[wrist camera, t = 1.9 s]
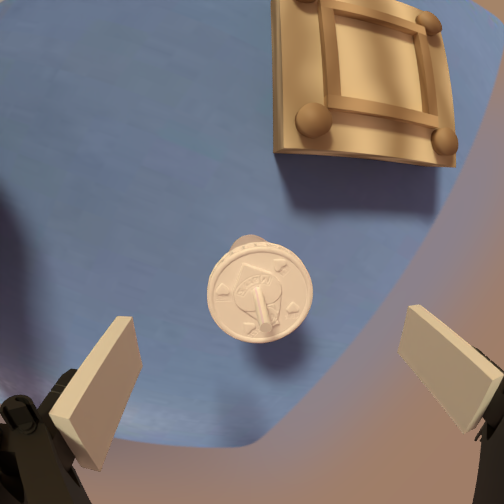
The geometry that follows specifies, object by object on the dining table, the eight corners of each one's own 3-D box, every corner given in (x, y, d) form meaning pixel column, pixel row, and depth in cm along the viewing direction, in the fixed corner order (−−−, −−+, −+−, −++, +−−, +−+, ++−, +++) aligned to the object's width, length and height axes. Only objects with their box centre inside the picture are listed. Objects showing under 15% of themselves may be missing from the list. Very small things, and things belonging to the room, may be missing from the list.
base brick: (273, 153, 24) (286, 146, 18) (270, 2, 20) (280, -33, 14) (425, 166, 25) (464, 167, 19) (412, 32, 21) (443, 13, 15)
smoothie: (268, 207, 25) (311, 244, 12) (296, 270, 27) (352, 356, 14) (202, 238, 26) (172, 307, 12) (233, 299, 27) (237, 404, 14)
